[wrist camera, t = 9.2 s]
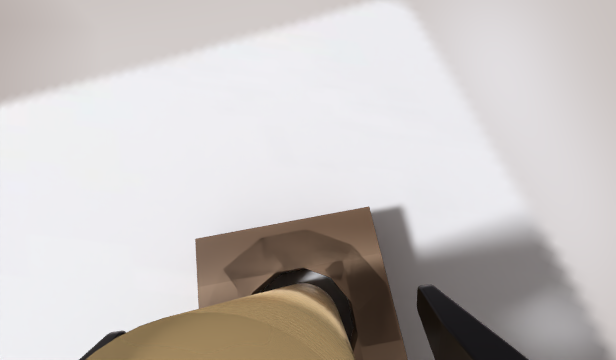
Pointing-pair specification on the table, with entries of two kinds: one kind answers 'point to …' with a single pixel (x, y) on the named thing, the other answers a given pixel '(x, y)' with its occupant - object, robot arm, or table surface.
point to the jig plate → (313, 256)
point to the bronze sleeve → (243, 331)
